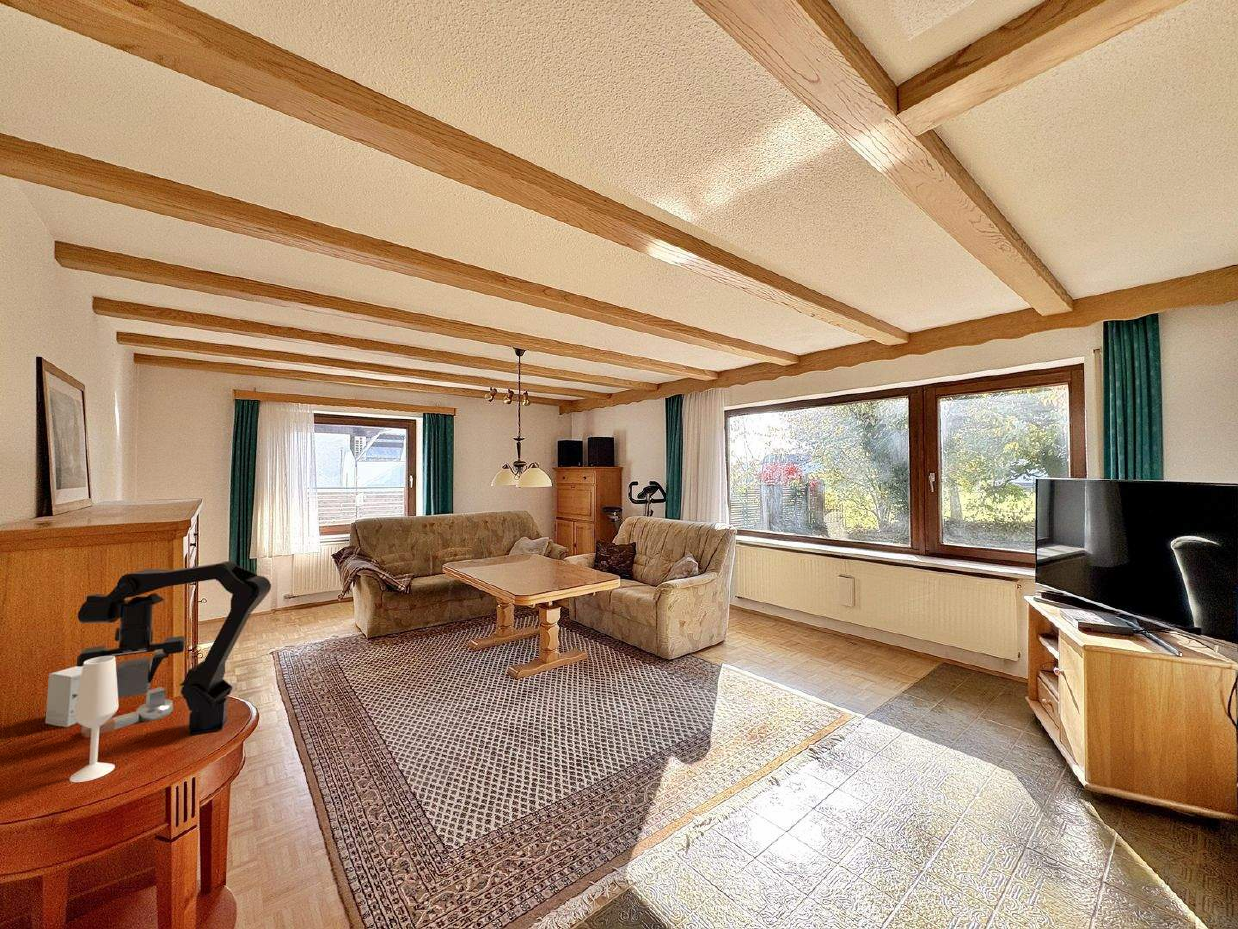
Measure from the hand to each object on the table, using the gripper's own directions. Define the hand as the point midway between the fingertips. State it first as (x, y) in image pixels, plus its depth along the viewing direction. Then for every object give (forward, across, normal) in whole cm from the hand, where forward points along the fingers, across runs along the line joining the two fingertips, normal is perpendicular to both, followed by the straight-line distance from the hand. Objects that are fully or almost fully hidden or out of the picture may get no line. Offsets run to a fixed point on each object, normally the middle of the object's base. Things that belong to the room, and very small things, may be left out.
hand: (132, 685), depth 122 cm
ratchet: (+11, +1, -6) cm, 13 cm away
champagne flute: (+12, +3, +18) cm, 21 cm away
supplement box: (+12, +12, -16) cm, 23 cm away
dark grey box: (+2, 0, 0) cm, 2 cm away
